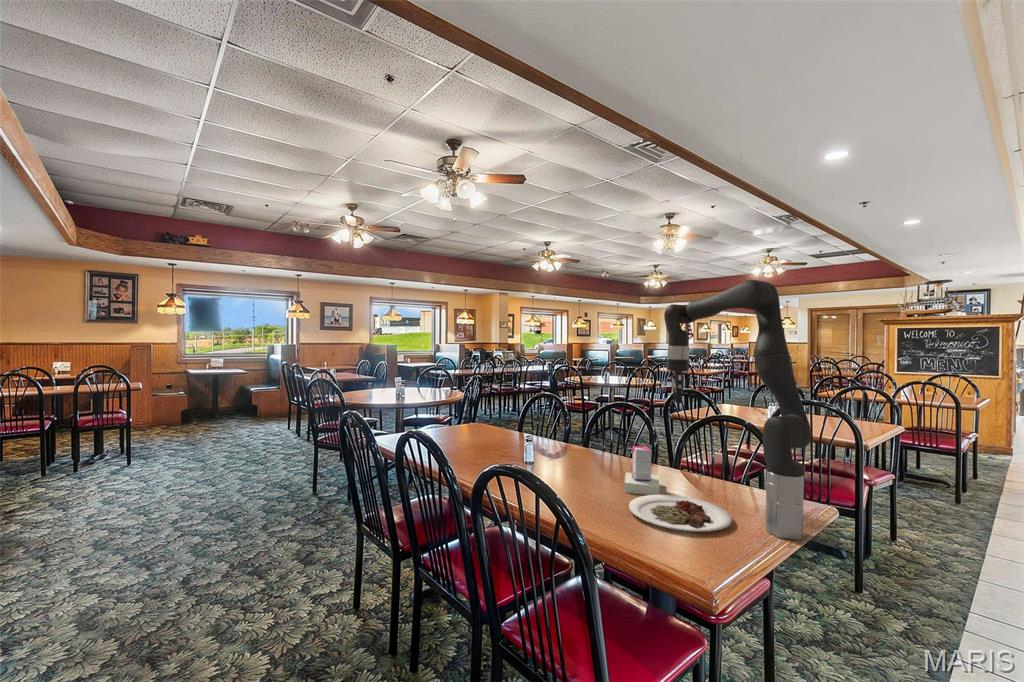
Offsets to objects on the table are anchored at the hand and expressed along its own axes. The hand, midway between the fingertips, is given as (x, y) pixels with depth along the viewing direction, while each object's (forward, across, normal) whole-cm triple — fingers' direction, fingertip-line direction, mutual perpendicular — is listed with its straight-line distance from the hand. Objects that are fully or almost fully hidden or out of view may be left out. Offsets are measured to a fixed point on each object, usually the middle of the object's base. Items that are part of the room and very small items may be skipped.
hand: (677, 401), depth 170 cm
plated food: (+33, -29, +2) cm, 44 cm away
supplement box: (+29, -4, +12) cm, 32 cm away
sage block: (+33, -4, +12) cm, 35 cm away
